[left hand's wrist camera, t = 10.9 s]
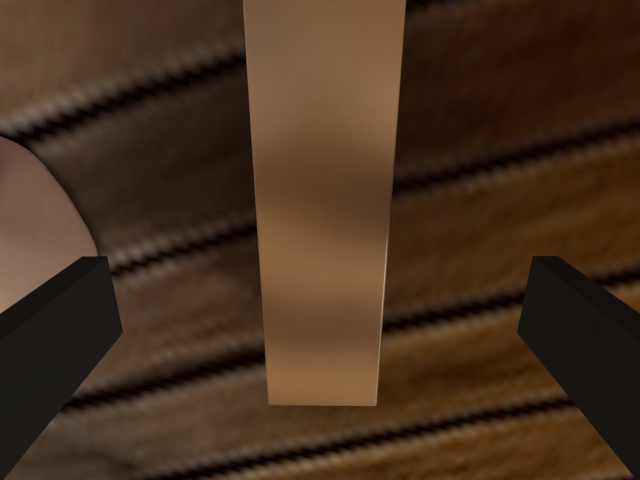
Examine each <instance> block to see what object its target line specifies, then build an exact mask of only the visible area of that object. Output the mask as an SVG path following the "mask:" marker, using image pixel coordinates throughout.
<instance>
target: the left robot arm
mask: <svg viewBox="0 0 640 480" xmlns="http://www.w3.org/2000/svg"><path fill="white" fill-rule="evenodd" d="M122 333H123V330H122V326H121V321H120V316H119V311H118V306H117V302H116V297H115V292H114V287H113V282H112V278H111V273H110V268H109V263H108V258H107V256H82V257H80V258H79V259H78V260H76V261H75V262H73V263H72V264H70V265H69V266H68V267H66V268H65V269H63V270H62V271H60V272H59V273H58V274H56V275H55V276H53V277H52V278H50V279H49V280H48V281H46V282H45V283H43V284H42V285H40V286H39V287H38V288H36V289H35V290H33V291H32V292H30V293H29V294H28V295H26V296H25V297H23V298H22V299H20V300H19V301H18V302H16V303H15V304H13V305H12V306H10V307H9V308H8V309H6V310H5V311H3V312H2V313H0V480H3V479H4V478H5V477H6V476H7V475H8V473H9V472H10V471H11V470H12V468H13V467H14V466H15V465H16V463H17V462H18V461H19V460H20V459H21V457H22V456H23V455H24V454H25V452H26V451H27V450H28V449H29V447H30V446H31V445H32V444H33V443H34V441H35V440H36V439H37V438H38V436H39V435H40V434H41V433H42V431H43V430H44V429H45V428H46V427H47V425H48V424H49V423H50V422H51V420H52V419H53V418H54V417H55V415H56V414H57V413H58V412H59V411H60V409H61V408H62V407H63V406H64V404H65V403H66V402H67V401H68V399H69V398H70V397H71V396H72V395H73V393H74V392H75V391H76V390H77V388H78V387H79V386H80V385H81V383H82V382H83V381H84V380H85V379H86V377H87V376H88V375H89V374H90V372H91V371H92V370H93V369H94V367H95V366H96V365H97V364H98V363H99V361H100V360H101V359H102V358H103V356H104V355H105V354H106V353H107V351H108V350H109V349H110V348H111V347H112V345H113V344H114V343H115V342H116V340H117V339H118V338H119V337H120V335H121V334H122ZM517 333H518V334H519V335H520V337H521V338H522V339H523V340H524V342H525V343H526V344H527V345H528V347H529V348H530V349H531V350H532V351H533V353H534V354H535V355H536V356H537V358H538V359H539V360H540V361H541V363H542V364H543V365H544V366H545V367H546V369H547V370H548V371H549V372H550V374H551V375H552V376H553V377H554V379H555V380H556V381H557V382H558V383H559V385H560V386H561V387H562V388H563V390H564V391H565V392H566V393H567V395H568V396H569V397H570V398H571V399H572V401H573V402H574V403H575V404H576V406H577V407H578V408H579V409H580V411H581V412H582V413H583V414H584V415H585V417H586V418H587V419H588V420H589V422H590V423H591V424H592V425H593V427H594V428H595V429H596V430H597V431H598V433H599V434H600V435H601V436H602V438H603V439H604V440H605V441H606V443H607V444H608V445H609V446H610V447H611V449H612V450H613V451H614V452H615V454H616V455H617V456H618V457H619V459H620V460H621V461H622V462H623V463H624V465H625V466H626V467H627V468H628V470H629V471H630V472H631V473H632V475H633V476H634V477H635V478H636V479H637V480H640V313H638V312H637V311H635V310H634V309H632V308H631V307H630V306H628V305H627V304H625V303H624V302H622V301H621V300H620V299H618V298H617V297H615V296H614V295H612V294H611V293H610V292H608V291H607V290H605V289H604V288H602V287H601V286H600V285H598V284H597V283H595V282H594V281H592V280H591V279H590V278H588V277H587V276H585V275H584V274H582V273H581V272H580V271H578V270H577V269H575V268H574V267H572V266H571V265H570V264H568V263H567V262H565V261H564V260H562V259H561V258H560V257H558V256H533V258H532V263H531V268H530V273H529V278H528V282H527V287H526V292H525V297H524V302H523V306H522V311H521V316H520V321H519V326H518V330H517Z"/></svg>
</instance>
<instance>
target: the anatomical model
mask: <svg viewBox="0 0 640 480" xmlns="http://www.w3.org/2000/svg"><path fill="white" fill-rule="evenodd" d="M82 256H98V254H97V249H96V246H95V243H94V241H93V239H92V237H91V234H90V232H89V230H88V228H87V226H86V225H85V223H84V221H83V220H82V218H81V216H80V215H79V213H78V211H77V210H76V208H75V206H74V205H73V203H72V201H71V200H70V198H69V197H68V195H67V194H66V192H65V191H64V189H63V188H62V187H61V186H60V184H59V183H58V182H57V180H56V179H55V178H54V177H53V175H52V174H51V173H50V172H49V170H48V169H47V168H46V167H45V165H44V164H43V163H42V162H41V161H40V160H39V159H38V158H37V157H36V156H35V155H34V154H32V153H31V152H30V151H29V150H27V149H26V148H24V147H23V146H21V145H19V144H17V143H15V142H13V141H11V140H8V139H6V138H4V137H1V136H0V313H2V312H3V311H5V310H6V309H8V308H9V307H10V306H12V305H13V304H15V303H16V302H18V301H19V300H20V299H22V298H23V297H25V296H26V295H28V294H29V293H30V292H32V291H33V290H35V289H36V288H38V287H39V286H40V285H42V284H43V283H45V282H46V281H48V280H49V279H50V278H52V277H53V276H55V275H56V274H58V273H59V272H60V271H62V270H63V269H65V268H66V267H68V266H69V265H70V264H72V263H73V262H75V261H76V260H78V259H79V258H80V257H82Z"/></svg>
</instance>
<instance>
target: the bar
mask: <svg viewBox="0 0 640 480" xmlns="http://www.w3.org/2000/svg"><path fill="white" fill-rule="evenodd" d="M242 1H243V17H244V32H245V48H246V63H247V79H248V94H249V110H250V125H251V141H252V156H253V172H254V187H255V203H256V218H257V234H258V249H259V265H260V280H261V296H262V311H263V327H264V343H265V358H266V374H267V389H268V403H269V405H325V406H376V404H377V391H378V377H379V364H380V350H381V336H382V323H383V309H384V296H385V282H386V268H387V255H388V241H389V227H390V214H391V200H392V186H393V173H394V159H395V145H396V132H397V118H398V104H399V91H400V77H401V64H402V50H403V36H404V23H405V9H406V0H242Z"/></svg>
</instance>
